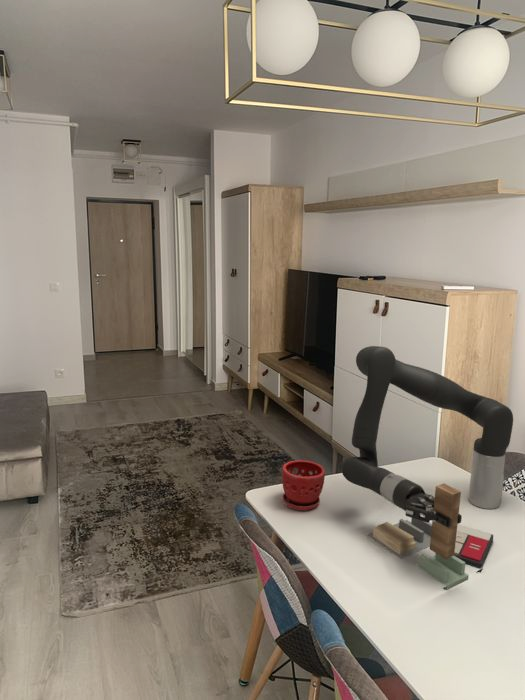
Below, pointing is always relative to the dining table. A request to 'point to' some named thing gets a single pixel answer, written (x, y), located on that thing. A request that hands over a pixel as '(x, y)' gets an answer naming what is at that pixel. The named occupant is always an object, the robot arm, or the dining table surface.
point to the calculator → (472, 545)
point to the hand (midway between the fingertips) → (455, 521)
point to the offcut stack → (394, 538)
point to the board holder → (444, 569)
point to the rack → (415, 529)
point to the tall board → (440, 534)
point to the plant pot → (302, 484)
